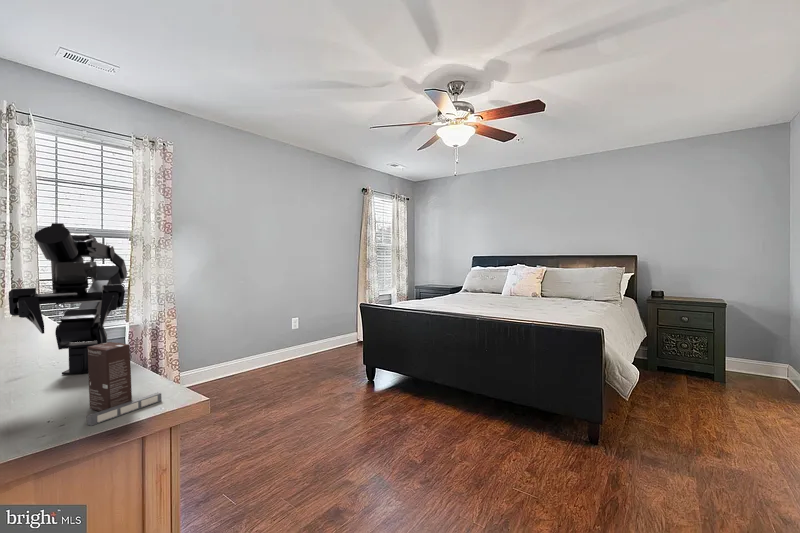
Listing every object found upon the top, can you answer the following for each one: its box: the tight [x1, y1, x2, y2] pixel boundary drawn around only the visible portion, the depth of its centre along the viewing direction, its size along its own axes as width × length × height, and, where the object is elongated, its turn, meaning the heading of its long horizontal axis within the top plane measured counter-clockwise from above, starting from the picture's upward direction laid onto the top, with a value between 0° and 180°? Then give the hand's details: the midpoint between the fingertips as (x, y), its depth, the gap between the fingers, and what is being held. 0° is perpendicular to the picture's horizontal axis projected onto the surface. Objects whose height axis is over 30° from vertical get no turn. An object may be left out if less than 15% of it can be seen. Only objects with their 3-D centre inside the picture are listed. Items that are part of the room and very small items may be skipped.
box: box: [87, 341, 133, 412], centre depth 70 cm, size 6×4×12 cm
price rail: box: [86, 391, 162, 427], centre depth 68 cm, size 1×12×2 cm, turn 156°
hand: (73, 329), depth 78 cm, fingers open, 9 cm apart
